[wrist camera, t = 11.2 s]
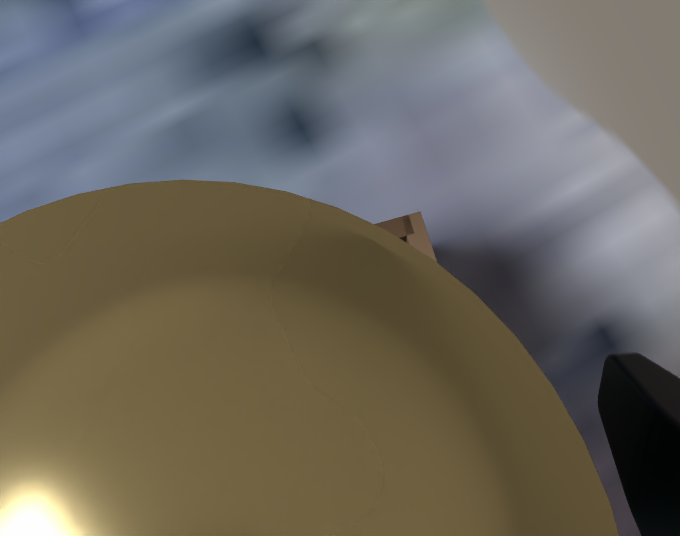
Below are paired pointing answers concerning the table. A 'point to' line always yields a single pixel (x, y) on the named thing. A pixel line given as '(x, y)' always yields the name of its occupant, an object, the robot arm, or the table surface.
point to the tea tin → (265, 379)
